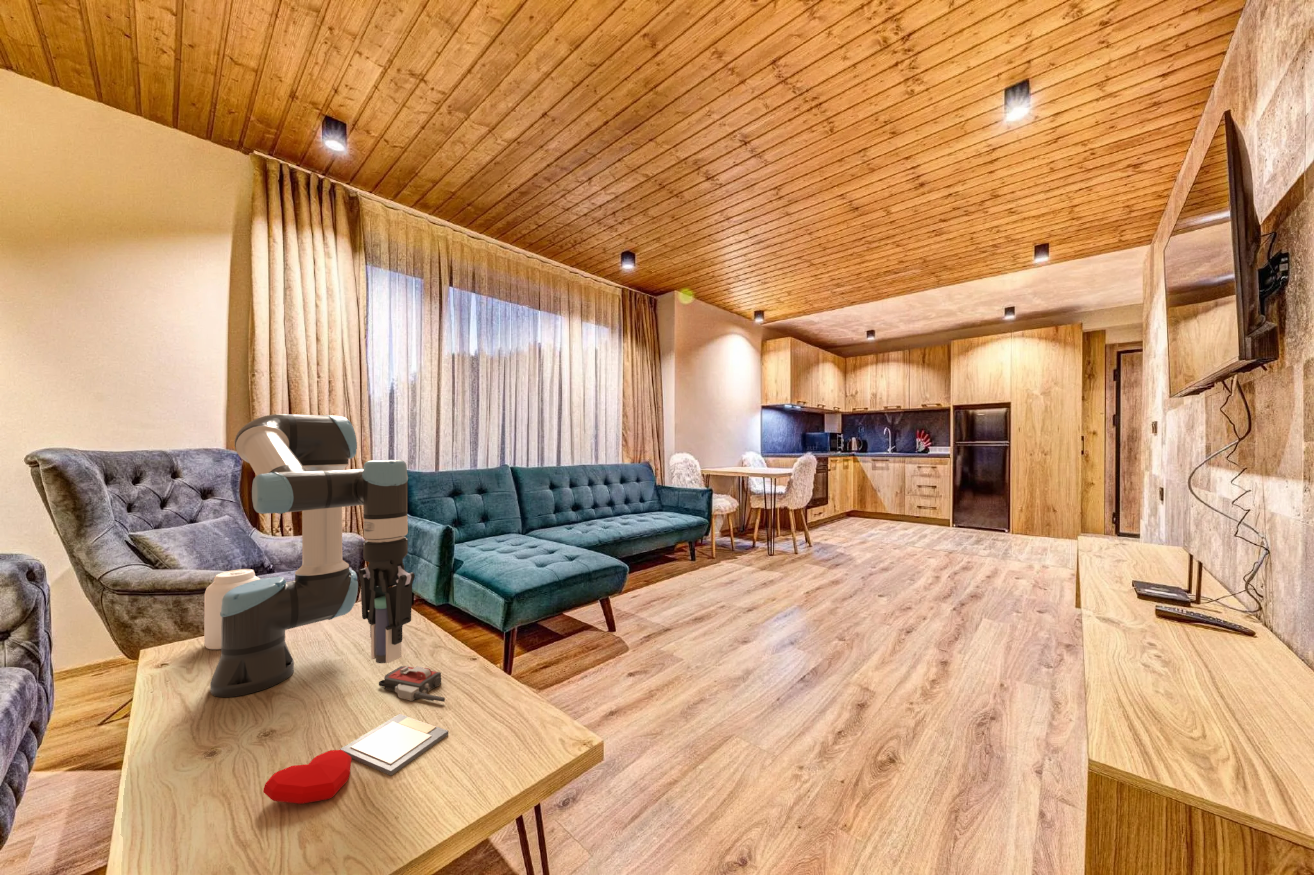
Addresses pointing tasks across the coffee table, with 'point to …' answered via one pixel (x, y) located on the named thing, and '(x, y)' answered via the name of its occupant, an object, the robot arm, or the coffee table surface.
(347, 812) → the coffee table surface
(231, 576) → the white jar
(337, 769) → the heart
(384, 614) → the marker
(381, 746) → the clipboard
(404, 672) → the walkie-talkie
